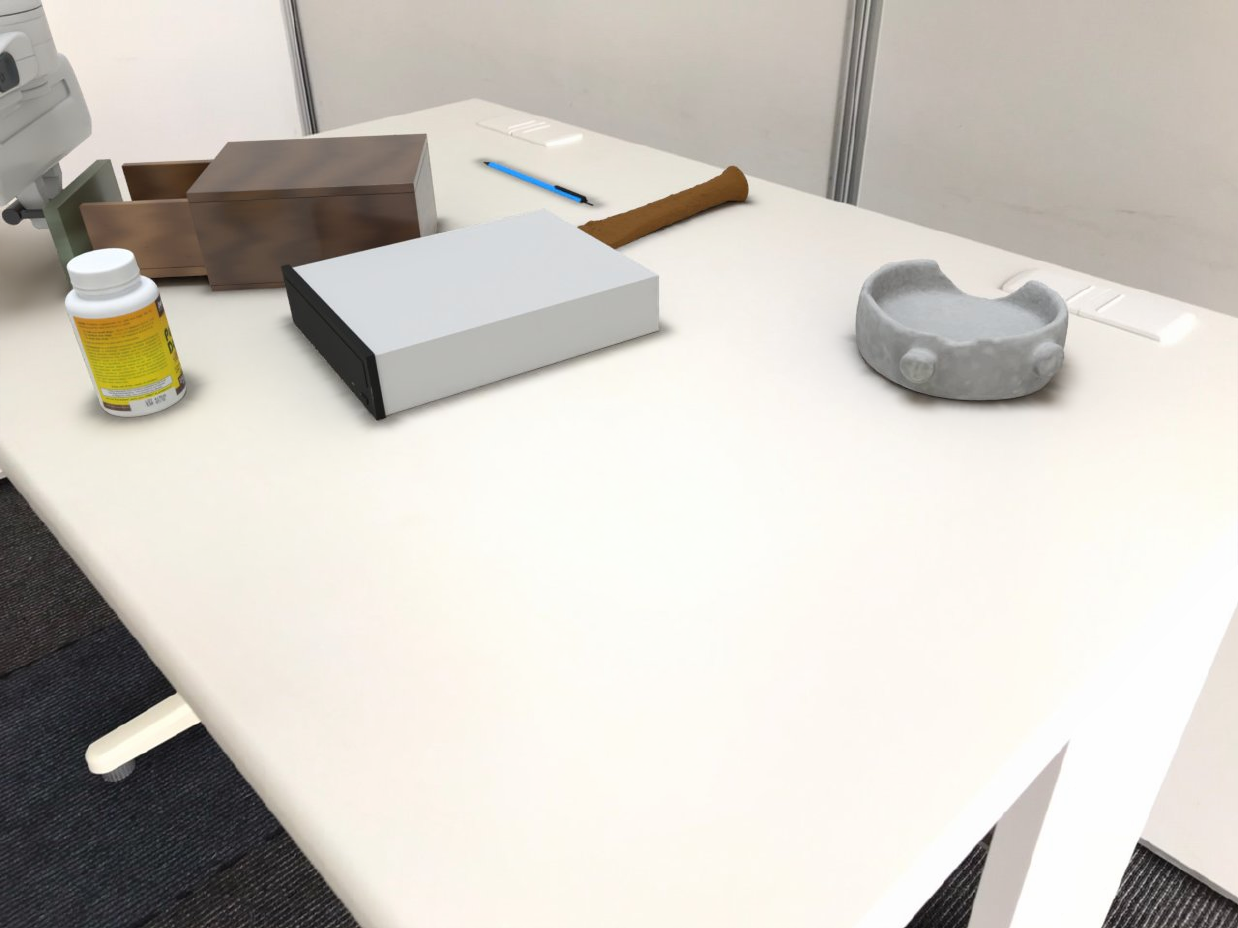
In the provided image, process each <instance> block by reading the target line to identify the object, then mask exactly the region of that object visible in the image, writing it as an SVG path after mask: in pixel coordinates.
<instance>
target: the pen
mask: <svg viewBox="0 0 1238 928" xmlns="http://www.w3.org/2000/svg"><path fill="white" fill-rule="evenodd" d="M482 163H483V164H484V165H486V166H487V167H490V168H492V169H495V170H497V171H499V172H502V173H505V174H508V175H509V176H513V177H514V178H517V179H521V180H523V181H525V182H528V183H530V184H532V185H535V186H536V187H540V188H542V189H544V190H547V191H550V192H552V193H554V194H557V195H559V196H563V197H565V198H567V199H570V200H571V201H575V202H577V203H580V204H586V205H588V206H590V207H593V206H594V204H593V203H591V202H589V200H588V197H586V195H583V194H581V193H578V192H575V191H573V190H571V189H567V188H566V187H563V186H560V185H558V184H556V185H552V184H551V183H550V184H549V183H547V182H545V181H542V180H539V179H537V178H534V177H532V176H529V175H526V174H524V173H522V172H519V171H517V170H514V169H511V168H509V167H507V166H504V165H501V164H499V163H496V162H494V161H483V162H482Z"/></svg>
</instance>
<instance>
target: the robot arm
mask: <svg viewBox="0 0 1238 928" xmlns="http://www.w3.org/2000/svg"><path fill="white" fill-rule="evenodd" d="M85 99H86V98H85V96H84V93H83V91H82V89H81V86H80V83H79V81H78V78H77V75H76V73H75V71H74V68H73V66H72V64H71V62H70V61H69V59H68V58H67V56H66V55H64V54H63V53H61V52H58V50H57V46H56V45H55V41H54V37H53V35H52V31H51V27H50V24H49V22H48V17H47V15H46V12H45V9H44V6H43V2H42V0H0V208H1V207H5V206H6V205H8V204H9V203H11V201H13V200H14V199H16V200H17V199H18V201H19V202H20V203H21V204H22V205H23V206H24V207H25V209H27V210H34V209H42V208H43V207H44V206H45V205H46V204H48V203H49V202H50V201H51V200H52V199H53V198H54V197H55V196H57V195H58V194H59V193H60V192H61V191H62V189H63V171H62V168H61V165H60V161H61V160H63V159H64V158H65V157H66V156H68V155H69V154H70V153H72V151H74V150H75V149H76V148H77V147H79V146H80V145H82V143H84V142H85V141H86V140H87V139H89V138H90V137H91V136H92V134H93V124H92V123H93V122H92V121H93V120H92V116H91V113H90V111H89V107H88V105H87V102H86V100H85ZM30 222H31V225H32V226H33V228H35V229H37V230H49V227H48V225H47V222H46V219H45V218H35V219H30Z"/></svg>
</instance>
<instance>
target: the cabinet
mask: <svg viewBox="0 0 1238 928" xmlns="http://www.w3.org/2000/svg"><path fill="white" fill-rule="evenodd" d="M428 141H429V140H428V134H427V133H406V134H386V135H385V134H381V135H361V136H359V135H358V136H337V137H313V138H311V137H310V138H290V139H289V138H287V139H286V138H285V139H266V140H241V141H240V140H239V141H238V140H237V141H227V142H226V143H225V144H224V146H223V147H222V148H221V150H220V151H219V152H218V153H217V155H216V156H215V157H214V158H212V159H213V161H212V162H211V163H210V164H209V166H208V167H207V168H206V169H205V170H204V172H203V173H202V174H201V175H200V177H199V178H198V179H197V180H196V181H195V183H194V184H193V185H192V186H191V188H190V189H189V190H188V191H187V193H186V196H187V199H188V202H189V207H190V211H191V215H192V219H193V222H194V226H195V230H196V234H197V237H198V241H199V245H200V249H201V252H202V256H203V260H204V264H205V267H206V271H207V275H206V276H207V278H208V282H209V285H210V290H211V292H229V291H249V290H268V289H286V287H285V283H284V278H283V274H282V269H281V266H283V265H288V264H289V265H290V266H291V267H292V268H293V267H298V266H302V265H306V264H310V263H315V262H319V261H323V260H327V259H332V258H336V257H340V256H344V255H349V254H353V253H357V252H361V251H366V250H370V249H374V248H378V247H383V246H387V245H391V244H395V243H400V242H404V241H408V240H412V239H417V238H421V237H425V236H430V235H434V234H437V229H438V223H439V220H438V213H437V205H436V197H435V189H434V187H435V186H434V181H433V173H432V172H433V171H432V163H431V156H430V149H429V148H430V147H429V142H428Z"/></svg>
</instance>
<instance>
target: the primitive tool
mask: <svg viewBox="0 0 1238 928" xmlns="http://www.w3.org/2000/svg"><path fill="white" fill-rule="evenodd" d="M749 192H750V189H749V183H748V179H747V177H746V175H745V174H744V172H743V171H742V170H741V169H740V168H739V167H738V166H736V165H729V166H728V167H727V168H726V169H724V170H723V171H722V172H721V174H719V175H716V176H714V177H712V178H710V179H709V180H707V181H704V182H702V183H699V184H695V185H694V186H692V187H690V188H686V189H683V190H681V191H679V192H676V193H671V194H669V195H668V196H666V197H663V198H660V199H657V200H655V201H652V202H649V203H646V204H645V205H642V206H639V207H636V208H633V209H629V210H627V211H624V212H621V213H618V214H614V215H612V216H608V217H606V218H603V219H596V220H589V221H587V222H585V223H584V224H583V225H578V226H576V227H577V228H579V229H580V230H582V231H584V232H585V233H587V234H589V235H591V236H592V237H594V238H596V239H597V240H599V241H601V242H603V243H604V244H606V245H608V246H610V247H611V248H613V249H615V250H616V249H619V248H621V247H624V246H625V245H627V244H630V243H632V242H634V241H636V240H638V239H640V238H642V237H645V236H647V235H649V234H651V233H653V232H655V231H657V230H660V229H661V228H664V227H667V226H670V225H673V224H674V223H677V222H679V221H682V220H685V219H688V218H690V217H692V216H694V215H696V214H698V213H700V212H704V211H706V210H707V209H711V208H713V207H716V206H720V205H722V204H724V203H727V202H740V203H741V202H744V201H746V200H747V199H748V197H749Z"/></svg>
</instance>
